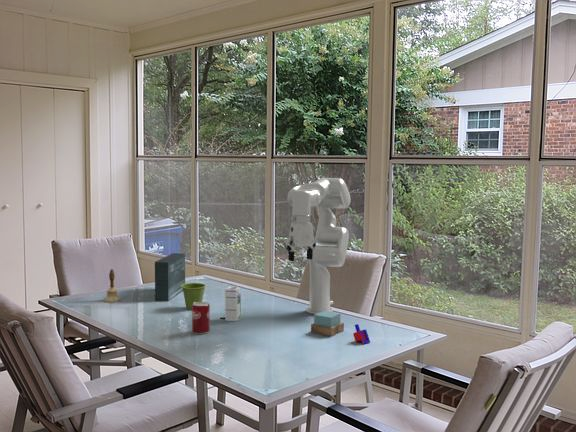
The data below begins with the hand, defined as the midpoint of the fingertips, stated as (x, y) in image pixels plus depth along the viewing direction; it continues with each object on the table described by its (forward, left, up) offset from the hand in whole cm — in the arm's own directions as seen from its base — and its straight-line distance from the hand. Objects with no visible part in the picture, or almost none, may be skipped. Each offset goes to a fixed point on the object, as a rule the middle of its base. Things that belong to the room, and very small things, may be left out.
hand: (300, 259), depth 249 cm
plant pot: (+2, -60, -30) cm, 67 cm away
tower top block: (-3, +12, -26) cm, 29 cm away
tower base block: (-3, +12, -30) cm, 32 cm away
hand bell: (+15, -104, -30) cm, 109 cm away
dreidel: (+1, +30, -30) cm, 42 cm away
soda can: (+29, -30, -30) cm, 51 cm away
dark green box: (-12, -90, -30) cm, 96 cm away
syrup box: (+6, -32, -30) cm, 44 cm away
